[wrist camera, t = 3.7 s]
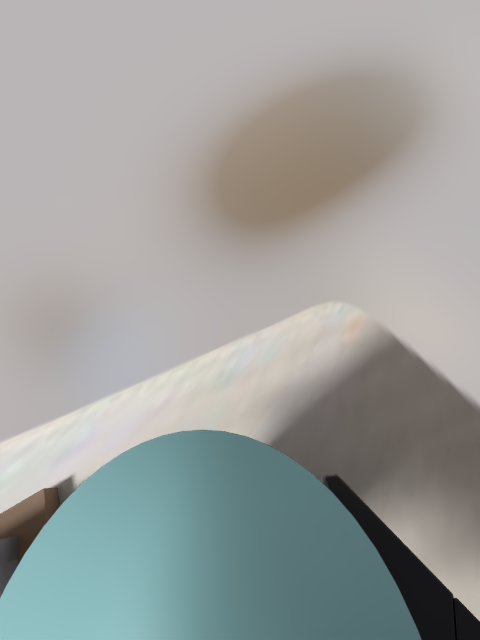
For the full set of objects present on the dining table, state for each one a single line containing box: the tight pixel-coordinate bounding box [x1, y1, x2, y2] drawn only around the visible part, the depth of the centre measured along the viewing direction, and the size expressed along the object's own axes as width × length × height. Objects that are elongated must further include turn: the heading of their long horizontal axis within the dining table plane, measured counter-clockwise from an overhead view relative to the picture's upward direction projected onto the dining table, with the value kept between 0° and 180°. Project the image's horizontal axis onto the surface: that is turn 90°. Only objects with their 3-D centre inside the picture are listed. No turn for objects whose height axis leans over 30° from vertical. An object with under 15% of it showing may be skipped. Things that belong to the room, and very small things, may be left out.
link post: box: [0, 430, 421, 640], centre depth 8 cm, size 5×5×12 cm
